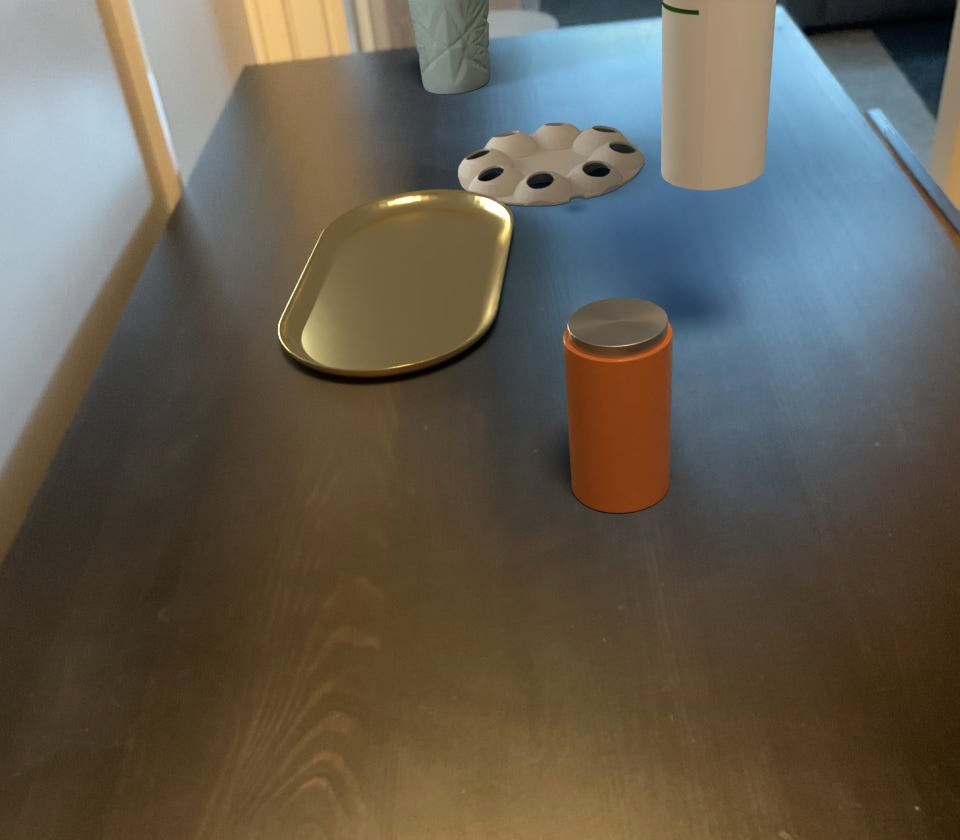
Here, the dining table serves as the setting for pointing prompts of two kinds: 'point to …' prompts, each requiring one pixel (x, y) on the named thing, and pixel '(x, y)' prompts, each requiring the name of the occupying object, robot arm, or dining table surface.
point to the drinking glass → (452, 44)
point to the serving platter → (400, 284)
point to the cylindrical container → (715, 91)
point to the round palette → (551, 164)
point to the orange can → (619, 403)
